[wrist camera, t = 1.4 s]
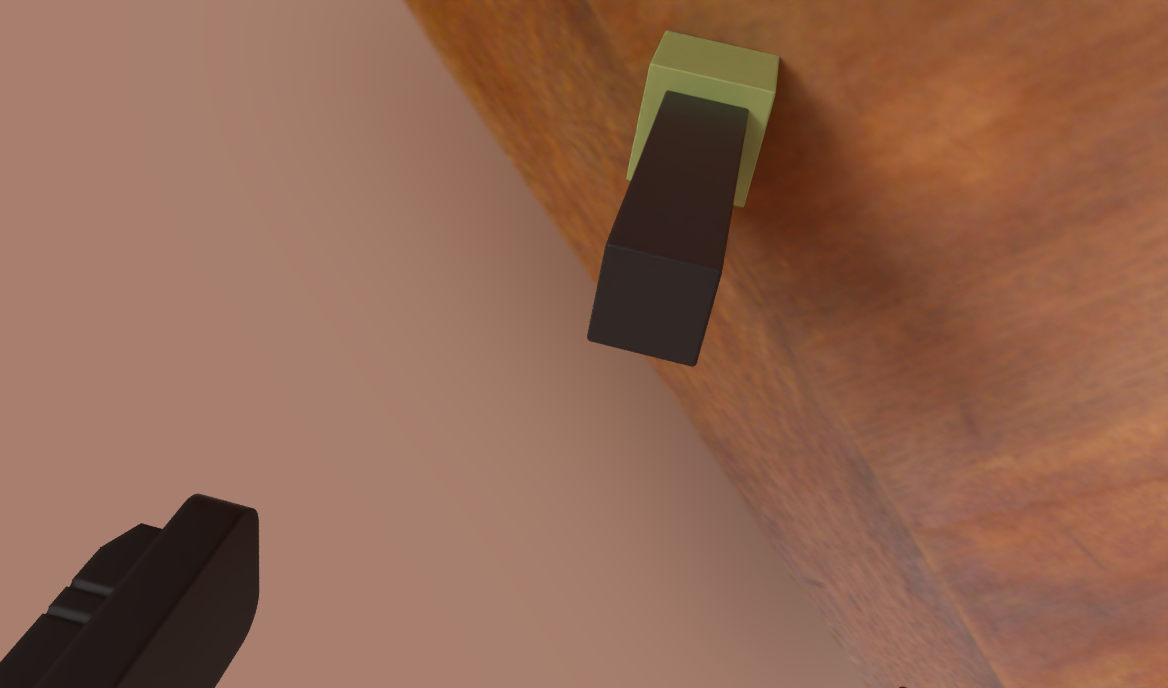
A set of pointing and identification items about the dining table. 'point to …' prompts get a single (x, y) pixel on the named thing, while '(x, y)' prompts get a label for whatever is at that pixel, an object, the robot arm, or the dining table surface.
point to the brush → (682, 195)
